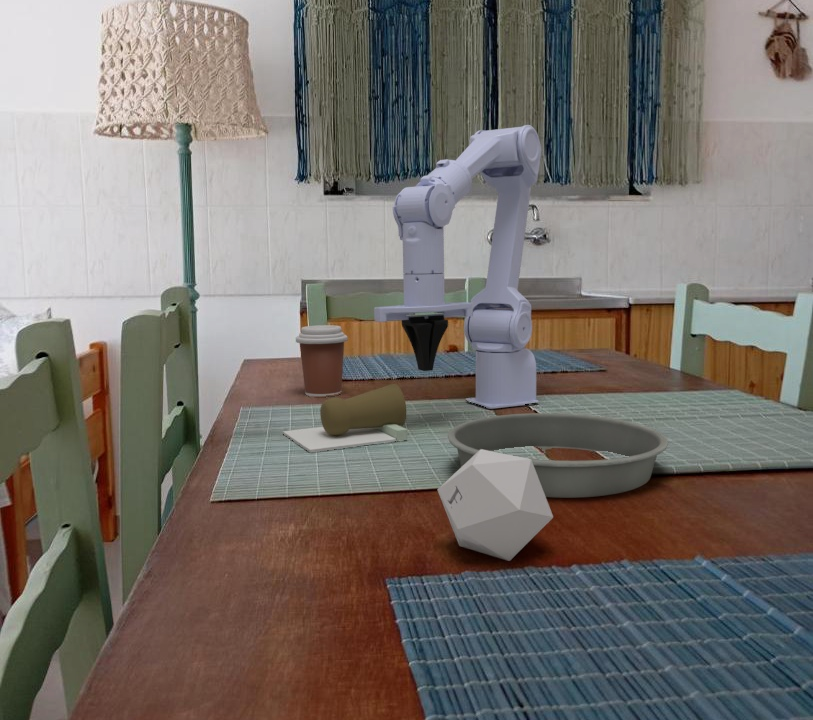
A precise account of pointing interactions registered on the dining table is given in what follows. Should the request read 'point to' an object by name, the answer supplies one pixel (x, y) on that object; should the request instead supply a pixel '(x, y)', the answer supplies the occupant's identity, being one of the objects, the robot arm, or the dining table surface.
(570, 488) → the cake pan
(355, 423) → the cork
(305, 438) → the mat
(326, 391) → the coffee cup
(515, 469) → the die
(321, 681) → the dining table surface
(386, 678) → the dining table surface
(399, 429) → the kerb
